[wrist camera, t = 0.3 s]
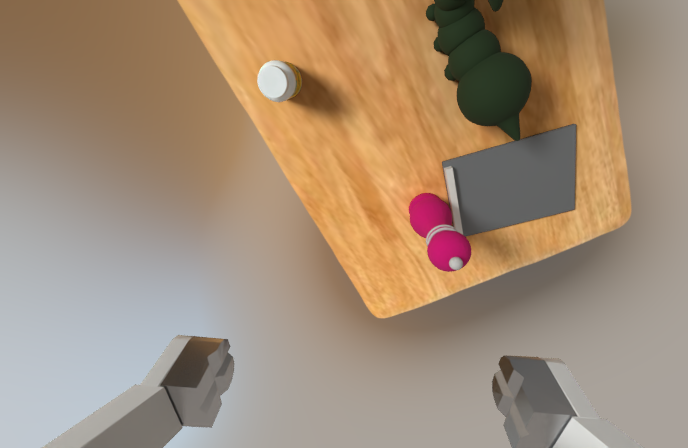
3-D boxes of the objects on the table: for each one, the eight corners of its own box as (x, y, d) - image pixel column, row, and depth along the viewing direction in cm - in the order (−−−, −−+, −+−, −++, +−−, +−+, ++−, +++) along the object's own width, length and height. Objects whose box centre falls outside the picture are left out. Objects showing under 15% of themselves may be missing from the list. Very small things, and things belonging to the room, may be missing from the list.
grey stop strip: (454, 233, 60) (457, 237, 59) (442, 167, 55) (445, 169, 53) (460, 231, 60) (463, 235, 58) (449, 165, 54) (452, 167, 53)
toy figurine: (400, 5, 46) (469, 150, 53) (421, -57, 28) (520, 173, 35) (459, -38, 43) (523, 119, 50) (523, -135, 26) (607, 128, 33)
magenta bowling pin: (441, 185, 56) (483, 237, 38) (446, 220, 59) (488, 282, 41) (402, 195, 57) (426, 250, 39) (409, 228, 60) (434, 293, 42)
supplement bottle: (267, 62, 48) (249, 59, 39) (301, 61, 48) (290, 58, 39) (271, 99, 50) (255, 103, 42) (303, 98, 50) (293, 103, 41)
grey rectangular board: (455, 237, 61) (455, 238, 60) (441, 161, 54) (442, 162, 54) (572, 208, 57) (574, 209, 57) (573, 123, 51) (576, 124, 50)
